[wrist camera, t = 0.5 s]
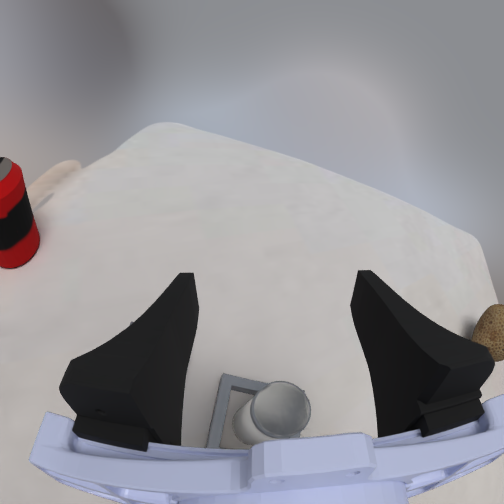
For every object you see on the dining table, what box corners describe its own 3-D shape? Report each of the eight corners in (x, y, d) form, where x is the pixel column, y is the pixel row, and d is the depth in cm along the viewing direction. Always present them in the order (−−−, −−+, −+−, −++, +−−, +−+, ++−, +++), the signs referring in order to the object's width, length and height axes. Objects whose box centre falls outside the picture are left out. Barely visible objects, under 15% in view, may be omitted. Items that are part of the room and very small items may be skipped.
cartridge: (274, 449, 25) (307, 440, 20) (227, 442, 25) (248, 432, 19) (279, 408, 28) (313, 386, 23) (235, 399, 28) (257, 375, 22)
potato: (493, 350, 41) (532, 321, 34) (483, 382, 36) (528, 354, 29) (467, 317, 44) (504, 285, 37) (454, 347, 39) (498, 313, 32)
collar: (289, 469, 24) (295, 468, 23) (203, 455, 24) (205, 455, 22) (298, 394, 30) (304, 390, 29) (220, 377, 29) (223, 373, 28)
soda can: (44, 224, 35) (27, 149, 26) (35, 268, 31) (7, 192, 22) (0, 227, 32) (-23, 156, 23) (-13, 270, 28) (-48, 199, 19)
